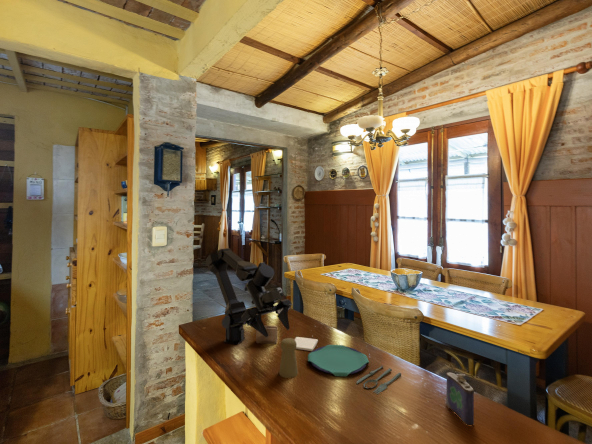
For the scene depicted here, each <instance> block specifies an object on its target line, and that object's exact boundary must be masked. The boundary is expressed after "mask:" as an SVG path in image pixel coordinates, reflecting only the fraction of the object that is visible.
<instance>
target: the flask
mask: <svg viewBox="0 0 592 444" xmlns="http://www.w3.org/2000/svg"><path fill="white" fill-rule="evenodd" d="M464 377H466V374H465V373H456V374H455V373H453V372H446V392H445V393H446V398H445V405H446V407H447V406H448V407H447V408H448V409H449V408H450V409H451V410H452V411H453V412H455V413H456V414H457V415H458V416H459V417H460V418H461V419H460V421H461V420H462V421H463V422H464V423H465V424H467V425H473V424H474V425H475V417H474V416H475V415H474V414H475V413H474V412H475V410H474V409H475V402H474V401H475V398H474V397H475V395H474V393H475V390H474V388H473V387H472V386H471V385H470V384H469V383H468V382H467V380H466V378H464ZM450 409H449V410H450ZM451 410H450V411H451ZM452 411H451V412H452ZM453 412H452V413H453ZM458 416H457V417H458ZM462 421H461V422H462ZM463 422H462V423H463ZM464 423H463V424H464ZM465 424H464V425H465ZM467 425H466V426H467Z"/></svg>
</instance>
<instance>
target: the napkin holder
mask: <svg viewBox="0 0 592 444" xmlns="http://www.w3.org/2000/svg"><path fill="white" fill-rule="evenodd" d="M264 326H265V328H266V330H267V333H268V337H265V336H264V335H263V334H261V333H260V332H259V331H257V330H256V329H255V330H256V331H255V333H256V334H255V335H256V336H255V337H256V339H255V342H256V344H271V345H276V344H277V343H278V326H277V325H264Z"/></svg>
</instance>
